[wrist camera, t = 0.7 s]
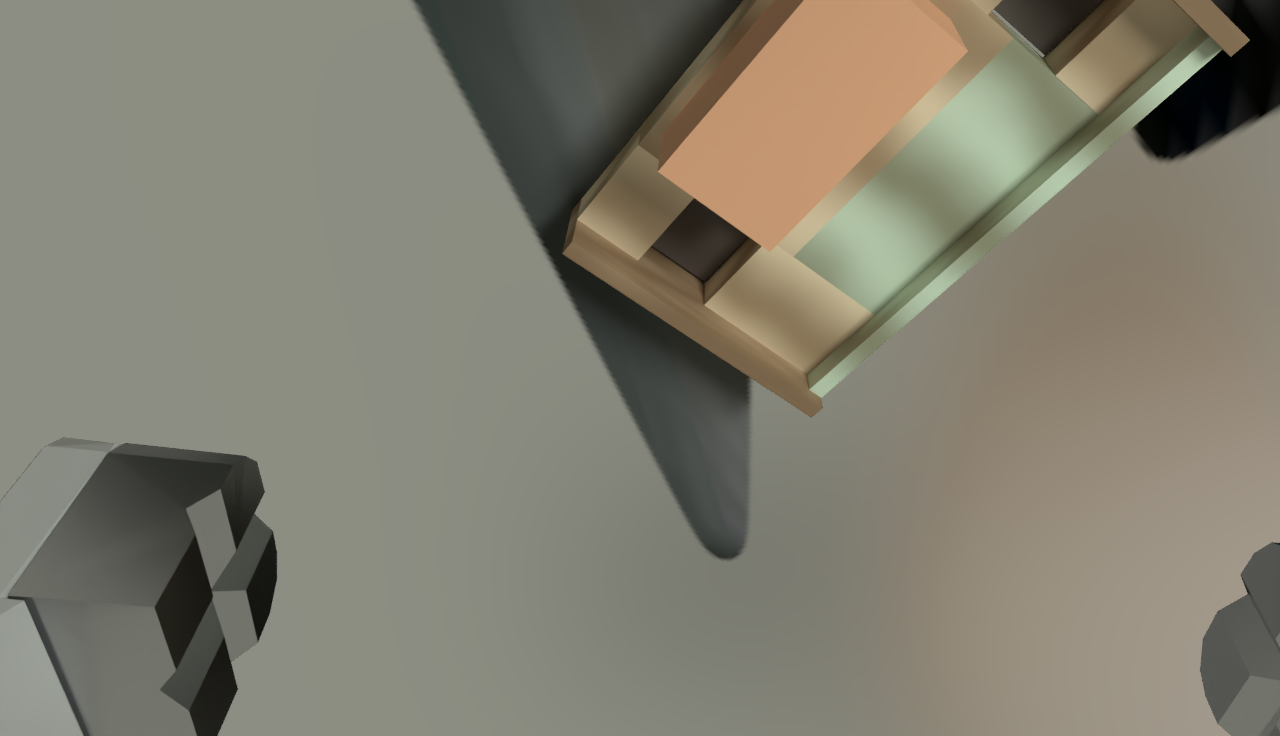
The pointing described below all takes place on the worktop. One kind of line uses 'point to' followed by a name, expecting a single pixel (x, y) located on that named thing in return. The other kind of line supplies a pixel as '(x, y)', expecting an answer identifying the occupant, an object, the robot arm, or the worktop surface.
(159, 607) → the robot arm
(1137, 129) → the worktop surface
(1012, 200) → the trap board
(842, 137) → the block
